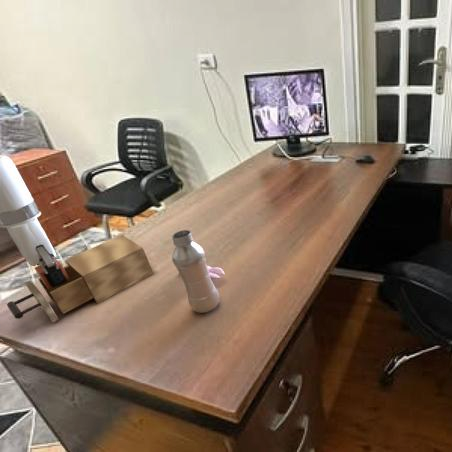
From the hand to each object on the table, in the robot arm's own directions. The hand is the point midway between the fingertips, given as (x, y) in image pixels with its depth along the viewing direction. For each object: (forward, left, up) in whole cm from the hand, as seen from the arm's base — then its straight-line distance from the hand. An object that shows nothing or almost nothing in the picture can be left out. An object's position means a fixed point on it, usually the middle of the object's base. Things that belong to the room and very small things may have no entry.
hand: (55, 279), depth 84 cm
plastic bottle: (+29, -23, -8) cm, 38 cm away
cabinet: (+11, +4, -8) cm, 14 cm away
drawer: (-1, 0, -7) cm, 7 cm away
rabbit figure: (+31, -11, -8) cm, 34 cm away
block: (0, 0, 0) cm, 0 cm away
